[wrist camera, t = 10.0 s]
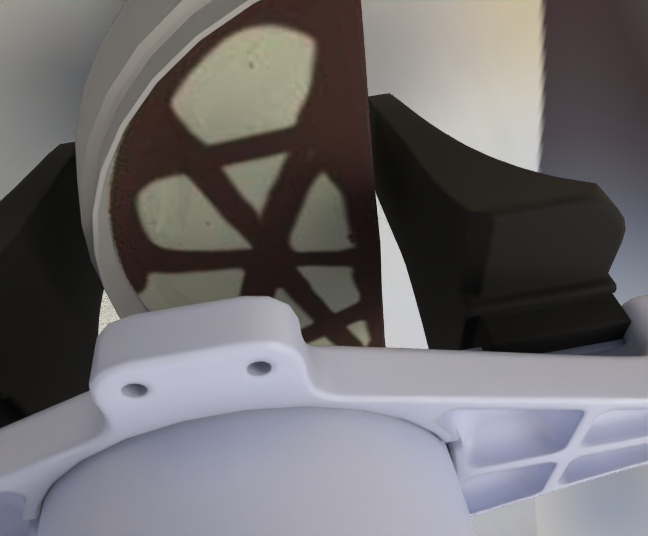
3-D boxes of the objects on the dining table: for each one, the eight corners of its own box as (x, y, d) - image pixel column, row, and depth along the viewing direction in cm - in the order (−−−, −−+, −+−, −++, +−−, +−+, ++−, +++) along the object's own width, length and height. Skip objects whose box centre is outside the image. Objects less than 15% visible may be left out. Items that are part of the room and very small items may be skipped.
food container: (39, -157, 13) (-148, -5, 6) (289, -203, 13) (378, -103, 6) (192, 221, 22) (185, 454, 15) (340, 192, 22) (400, 411, 15)
